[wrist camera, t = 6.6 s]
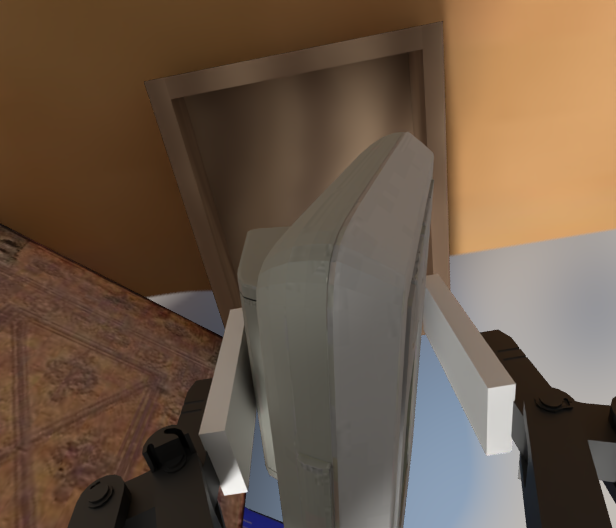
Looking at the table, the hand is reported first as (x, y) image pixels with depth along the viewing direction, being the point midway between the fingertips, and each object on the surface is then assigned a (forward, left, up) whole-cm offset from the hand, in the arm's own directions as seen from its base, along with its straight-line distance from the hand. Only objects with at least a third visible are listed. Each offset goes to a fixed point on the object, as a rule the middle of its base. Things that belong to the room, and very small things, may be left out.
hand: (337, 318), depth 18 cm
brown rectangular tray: (0, 0, -15) cm, 15 cm away
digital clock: (-1, 0, -1) cm, 1 cm away
